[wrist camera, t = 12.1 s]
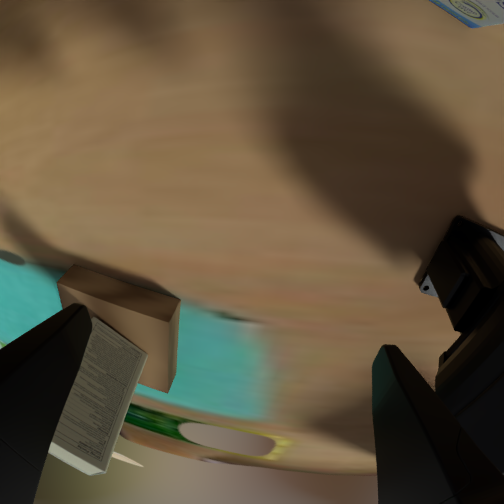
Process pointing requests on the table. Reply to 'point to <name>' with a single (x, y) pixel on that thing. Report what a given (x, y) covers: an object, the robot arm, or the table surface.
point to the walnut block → (130, 318)
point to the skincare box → (98, 401)
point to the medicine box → (474, 11)
